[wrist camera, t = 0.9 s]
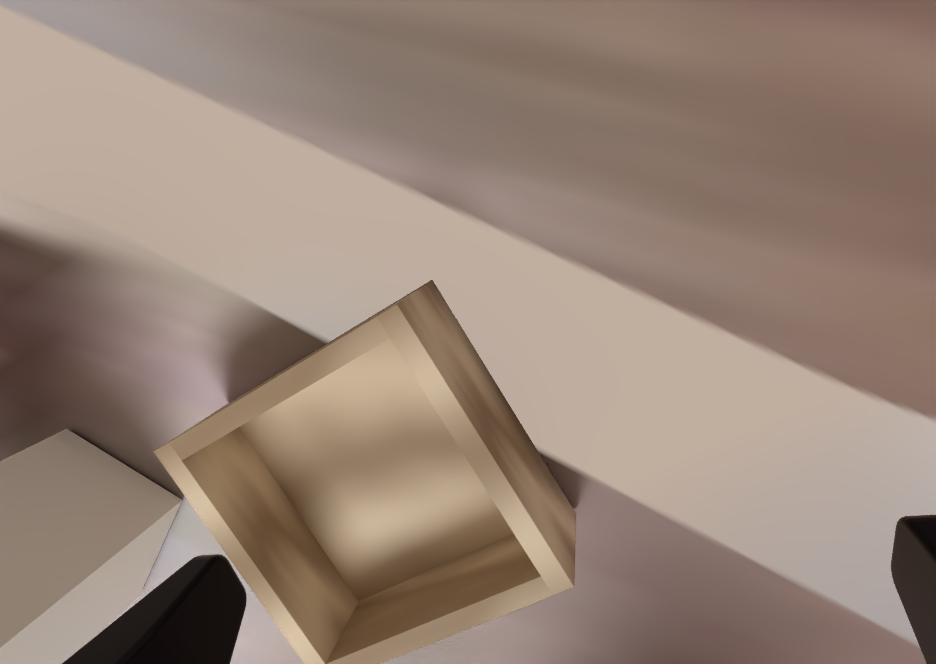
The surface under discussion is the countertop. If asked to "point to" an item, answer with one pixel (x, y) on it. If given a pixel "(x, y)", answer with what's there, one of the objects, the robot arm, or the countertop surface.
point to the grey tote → (72, 545)
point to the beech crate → (380, 491)
